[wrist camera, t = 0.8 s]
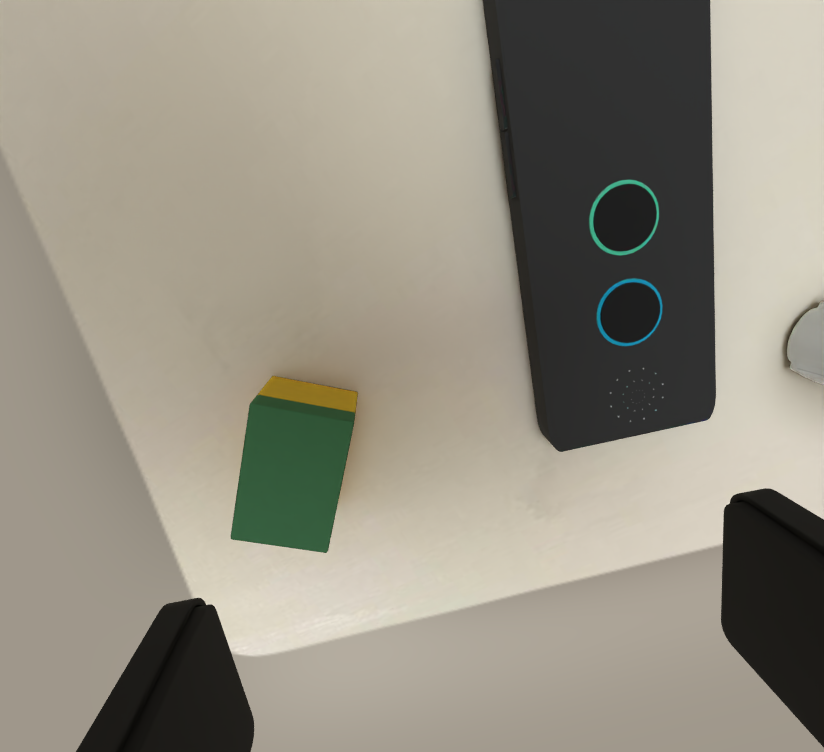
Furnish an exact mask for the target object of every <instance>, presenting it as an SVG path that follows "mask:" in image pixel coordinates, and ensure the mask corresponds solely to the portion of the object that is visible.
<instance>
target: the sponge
mask: <svg viewBox="0 0 824 752" xmlns="http://www.w3.org/2000/svg"><path fill="white" fill-rule="evenodd" d="M357 395H358V392H355V391H349V390H344V389H339V388H334V387H328V386H323V385H318V384H312V383H307V382H302V381H297V380H291V379H286V378H281V377H276V376H272V377H271V378H270V380H269V381H268V382H267V383H266V385H265V386H264V387H263V388H262V390H261V391H260V392H259V393H258V395H257V396H256V397H255V399H254V400H253V401H252V402H251V404H250V406H249V413H248V420H247V427H246V434H245V441H244V448H243V455H242V462H241V469H240V476H239V483H238V490H237V497H236V503H235V510H234V517H233V524H232V531H231V539H233V540H240V541H247V542H254V543H261V544H268V545H275V546H282V547H289V548H296V549H303V550H310V551H317V552H324V553H327V551H328V548H329V543H330V538H331V533H332V529H333V524H334V519H335V514H336V509H337V504H338V499H339V494H340V490H341V485H342V480H343V475H344V470H345V465H346V460H347V455H348V451H349V446H350V441H351V436H352V431H353V426H354V420H355V412H356V404H357Z"/></svg>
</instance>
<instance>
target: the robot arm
mask: <svg viewBox="0 0 824 752" xmlns="http://www.w3.org/2000/svg"><path fill="white" fill-rule="evenodd" d="M722 568H723V569H722V609H721V623H722V627H723V631H724V633H725V636H726V637H727V639H728V641H729V642H730V643H731V645H732V646H733V647H734V648H735V649H736V650H737V652H738V653H739V654H740V655H741V656H742V657H743V658H744V659H745V661H746V662H747V663H748V664H749V665H750V666H751V667H752V668H753V669H754V670H755V671H756V673H757V674H758V675H759V676H760V677H761V678H762V679H763V680H764V682H765V683H766V684H767V685H768V686H769V687H770V688H771V689H772V690H773V692H774V693H775V694H776V695H777V696H778V697H779V698H780V699H781V700H782V702H783V703H784V704H785V705H786V706H787V707H788V708H789V709H790V710H791V712H792V713H793V714H794V715H795V716H796V717H797V718H798V719H799V720H800V722H801V723H802V724H803V725H804V726H805V727H806V728H807V729H808V730H809V732H810V733H811V734H812V735H813V736H814V737H815V738H816V739H817V740H818V742H819V743H821V745H822V746H823V747H824V520H823V519H822V518H820V517H818V516H817V515H815V514H813V513H812V512H810V511H808V510H807V509H805V508H803V507H802V506H800V505H798V504H797V503H795V502H793V501H792V500H790V499H788V498H787V497H785V496H783V495H782V494H780V493H778V492H777V491H775V490H772V489H760V490H755V491H750V492H744V493H739V494H736V495H734V496H733V497H732V498H731V500H730V504H728V505H726V507H725V509H724V527H723V567H722ZM253 737H254V720H253V716H252V712H251V710H250V707H249V704H248V701H247V698H246V695H245V692H244V689H243V687H242V684H241V680H240V678H239V675H238V672H237V669H236V666H235V663H234V660H233V657H232V654H231V651H230V649H229V646H228V643H227V640H226V637H225V634H224V631H223V628H222V625H221V622H220V620H219V617H218V614H217V611H216V609H215V607H214V606H213V605H206V604H205V602H204V601H203V600H202V599H201V598H195V599H190V600H184V601H180V602H174V603H169V604H166V605H164V606H163V608H162V609H161V610H160V611H159V613H158V615H157V616H156V618H155V620H154V621H153V623H152V625H151V627H150V628H149V630H148V631H147V633H146V635H145V637H144V638H143V640H142V642H141V643H140V645H139V647H138V648H137V650H136V652H135V653H134V655H133V657H132V658H131V660H130V662H129V664H128V665H127V667H126V669H125V670H124V672H123V674H122V675H121V677H120V679H119V680H118V682H117V684H116V685H115V687H114V689H113V690H112V692H111V694H110V696H109V697H108V699H107V700H106V702H105V704H104V706H103V707H102V709H101V711H100V712H99V714H98V716H97V717H96V719H95V721H94V723H93V724H92V726H91V728H90V729H89V731H88V732H87V734H86V736H85V738H84V739H83V741H82V743H81V744H80V746H79V748H78V749H77V751H76V752H250V751H251V747H252V743H253Z"/></svg>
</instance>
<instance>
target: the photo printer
mask: <svg viewBox="0 0 824 752" xmlns="http://www.w3.org/2000/svg"><path fill="white" fill-rule="evenodd" d="M787 356H788V359H789V360H790V361H791V365H790V369H791V370H793V371H795V372H796V373H798V374H800V375H802V376H804V377H806V378H808V379H810V380H812V381H814V382H817V383H819V384H822V385H824V301H822V302H820V304H819V306H818V307H817V308H814V309H811V310H809V311H808V312H807V313H805V314H804V315H803V316H802V317H801V319H800V320H799V321H798V322H797V324H796V326H795V327H794V329H793V331H792V333H791V335H790V338H789V341H788V347H787Z"/></svg>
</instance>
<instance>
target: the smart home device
mask: <svg viewBox="0 0 824 752" xmlns="http://www.w3.org/2000/svg"><path fill="white" fill-rule="evenodd" d="M483 3H484V12H485V20H486V27H487V35H488V43H489V50H490V58H491V66H492V74H493V81H494V89H495V97H496V104H497V112H498V120H499V127H500V135H501V143H502V150H503V158H504V166H505V174H506V181H507V189H508V197H509V204H510V212H511V220H512V227H513V235H514V243H515V250H516V258H517V266H518V274H519V281H520V289H521V297H522V304H523V312H524V320H525V327H526V335H527V343H528V350H529V358H530V366H531V374H532V381H533V389H534V397H535V404H536V412H537V419H538V424H539V427H540V430H541V432H542V434H543V435H544V436H545V437H546V439H547V440H548V441H549V442H550V443H551V444H552V445H553V446H554V447H555V449H556V450H558V451H560V452H563V451H567V450H572V449H577V448H581V447H586V446H590V445H595V444H600V443H604V442H609V441H614V440H618V439H623V438H627V437H632V436H637V435H641V434H646V433H650V432H655V431H660V430H664V429H669V428H674V427H678V426H683V425H687V424H692V423H697V422H701V421H706V420H708V419H709V418H710V417H711V415H712V413H713V410H714V406H715V399H716V375H715V306H714V237H713V168H712V99H711V30H710V0H483Z"/></svg>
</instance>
